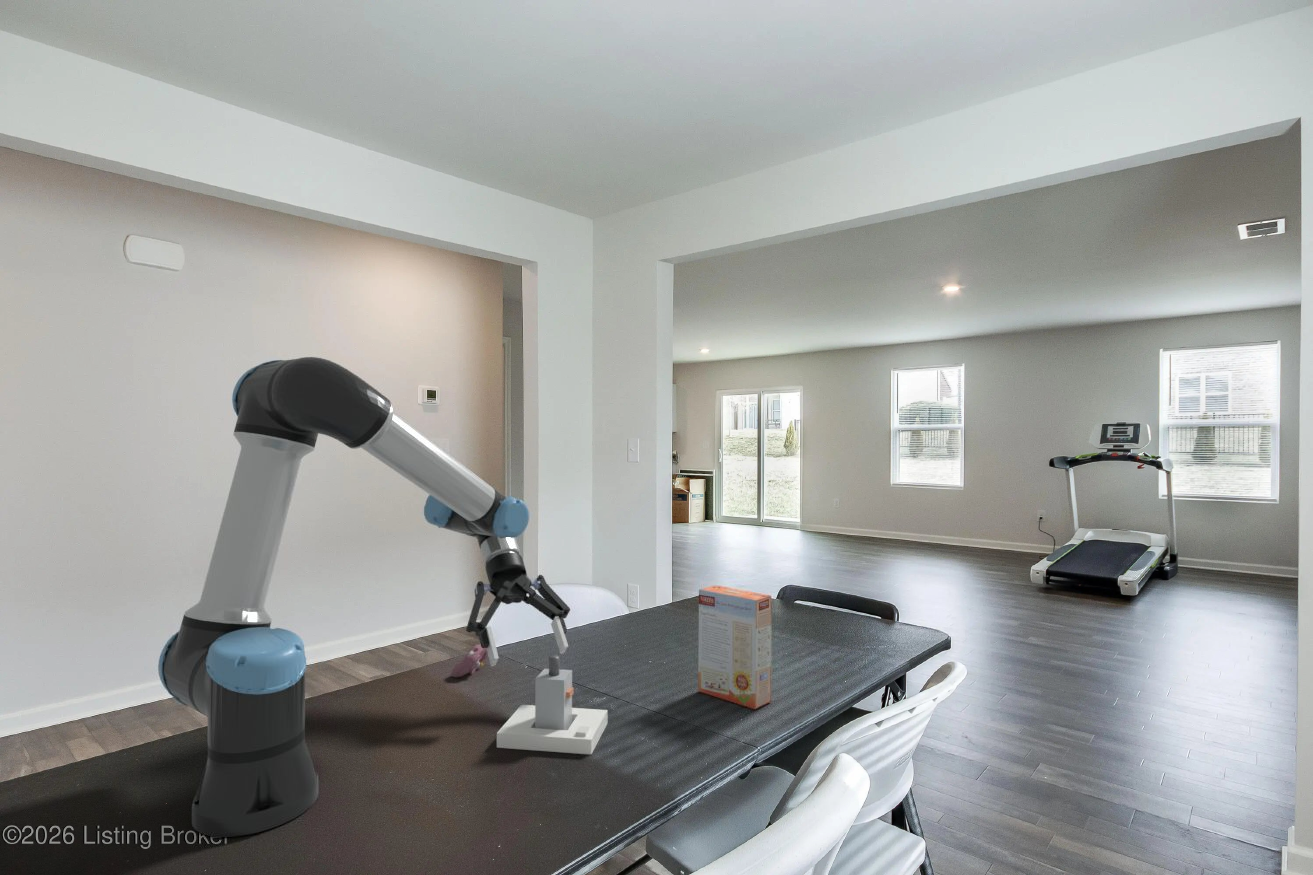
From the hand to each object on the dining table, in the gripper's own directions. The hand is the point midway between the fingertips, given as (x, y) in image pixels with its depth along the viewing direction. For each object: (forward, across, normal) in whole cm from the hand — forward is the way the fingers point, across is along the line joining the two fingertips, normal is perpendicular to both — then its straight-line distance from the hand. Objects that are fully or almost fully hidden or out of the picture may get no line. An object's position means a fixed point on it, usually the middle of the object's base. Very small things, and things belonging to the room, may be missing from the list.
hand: (530, 656), depth 126 cm
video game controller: (-12, +2, -28) cm, 30 cm away
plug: (+15, 0, 0) cm, 15 cm away
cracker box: (+17, -37, +2) cm, 41 cm away
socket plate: (+15, 0, 0) cm, 15 cm away
